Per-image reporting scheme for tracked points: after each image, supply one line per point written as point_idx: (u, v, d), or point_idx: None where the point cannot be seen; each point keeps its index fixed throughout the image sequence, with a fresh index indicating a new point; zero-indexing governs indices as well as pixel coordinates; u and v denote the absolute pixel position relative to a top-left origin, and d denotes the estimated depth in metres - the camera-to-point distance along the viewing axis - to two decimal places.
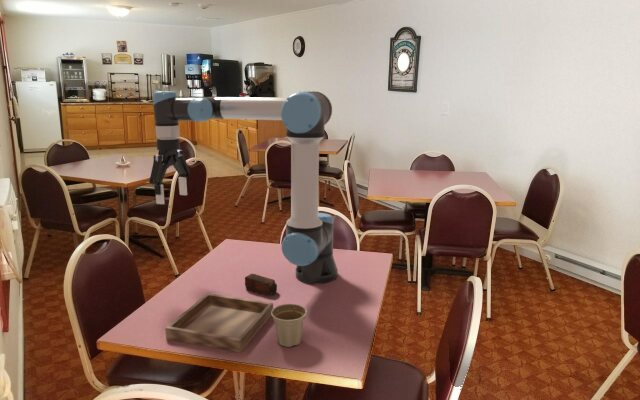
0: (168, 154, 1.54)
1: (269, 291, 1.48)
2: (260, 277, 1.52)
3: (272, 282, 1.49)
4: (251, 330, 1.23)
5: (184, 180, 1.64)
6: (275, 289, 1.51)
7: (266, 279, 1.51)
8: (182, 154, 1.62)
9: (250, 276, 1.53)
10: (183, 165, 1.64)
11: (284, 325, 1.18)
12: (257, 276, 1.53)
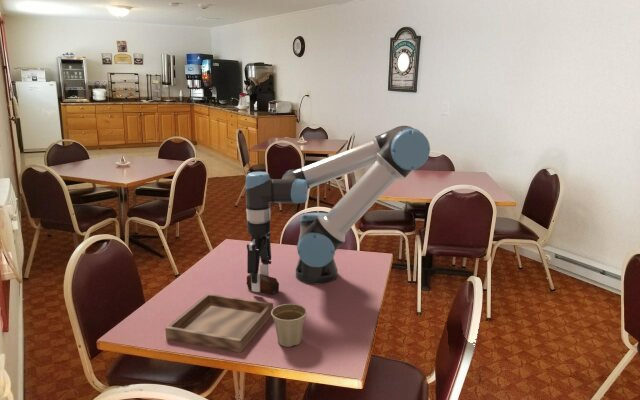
0: (259, 237, 1.46)
1: (271, 290, 1.49)
2: (262, 276, 1.53)
3: (274, 281, 1.50)
4: (251, 330, 1.23)
5: (266, 268, 1.54)
6: (277, 287, 1.51)
7: (268, 278, 1.52)
8: (269, 237, 1.54)
9: None
10: (267, 249, 1.55)
11: (284, 325, 1.18)
12: None
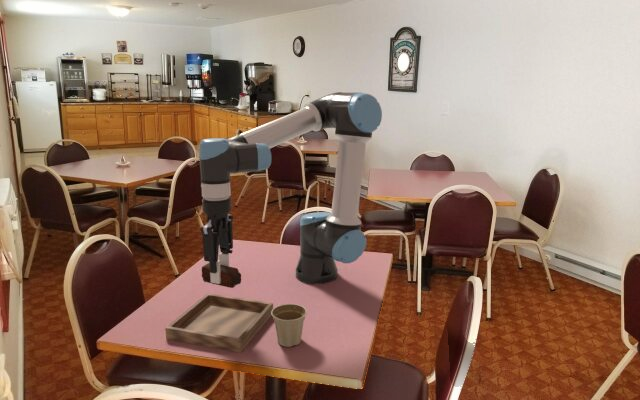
0: (216, 217, 1.20)
1: (232, 282, 1.23)
2: (220, 266, 1.27)
3: (235, 272, 1.24)
4: (251, 330, 1.23)
5: (226, 258, 1.28)
6: (239, 279, 1.26)
7: (228, 268, 1.26)
8: (231, 220, 1.28)
9: (208, 265, 1.27)
10: (228, 235, 1.29)
11: (284, 325, 1.18)
12: None
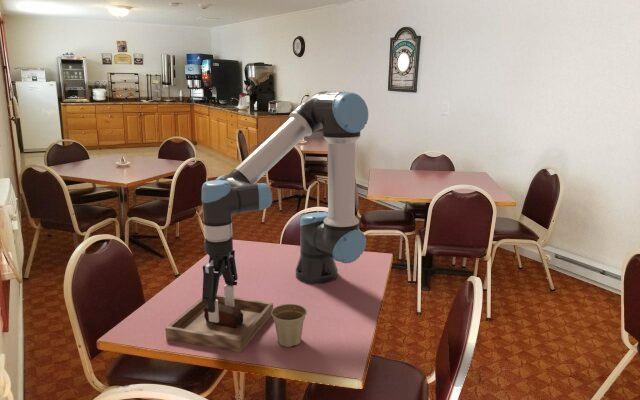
0: (219, 257, 1.23)
1: (235, 323, 1.27)
2: (223, 306, 1.30)
3: (237, 312, 1.27)
4: (251, 330, 1.23)
5: (231, 290, 1.32)
6: (241, 319, 1.29)
7: (230, 308, 1.29)
8: (233, 255, 1.31)
9: None
10: (231, 269, 1.32)
11: (284, 325, 1.18)
12: (219, 305, 1.30)
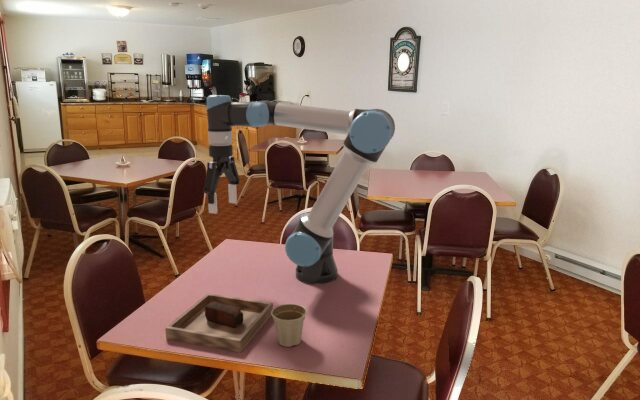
0: (221, 161, 1.47)
1: (234, 322, 1.27)
2: (223, 306, 1.30)
3: (237, 312, 1.28)
4: (251, 330, 1.23)
5: (234, 188, 1.57)
6: (241, 319, 1.29)
7: (230, 308, 1.29)
8: (233, 160, 1.55)
9: (211, 305, 1.31)
10: (233, 172, 1.57)
11: (284, 325, 1.18)
12: (219, 304, 1.31)
